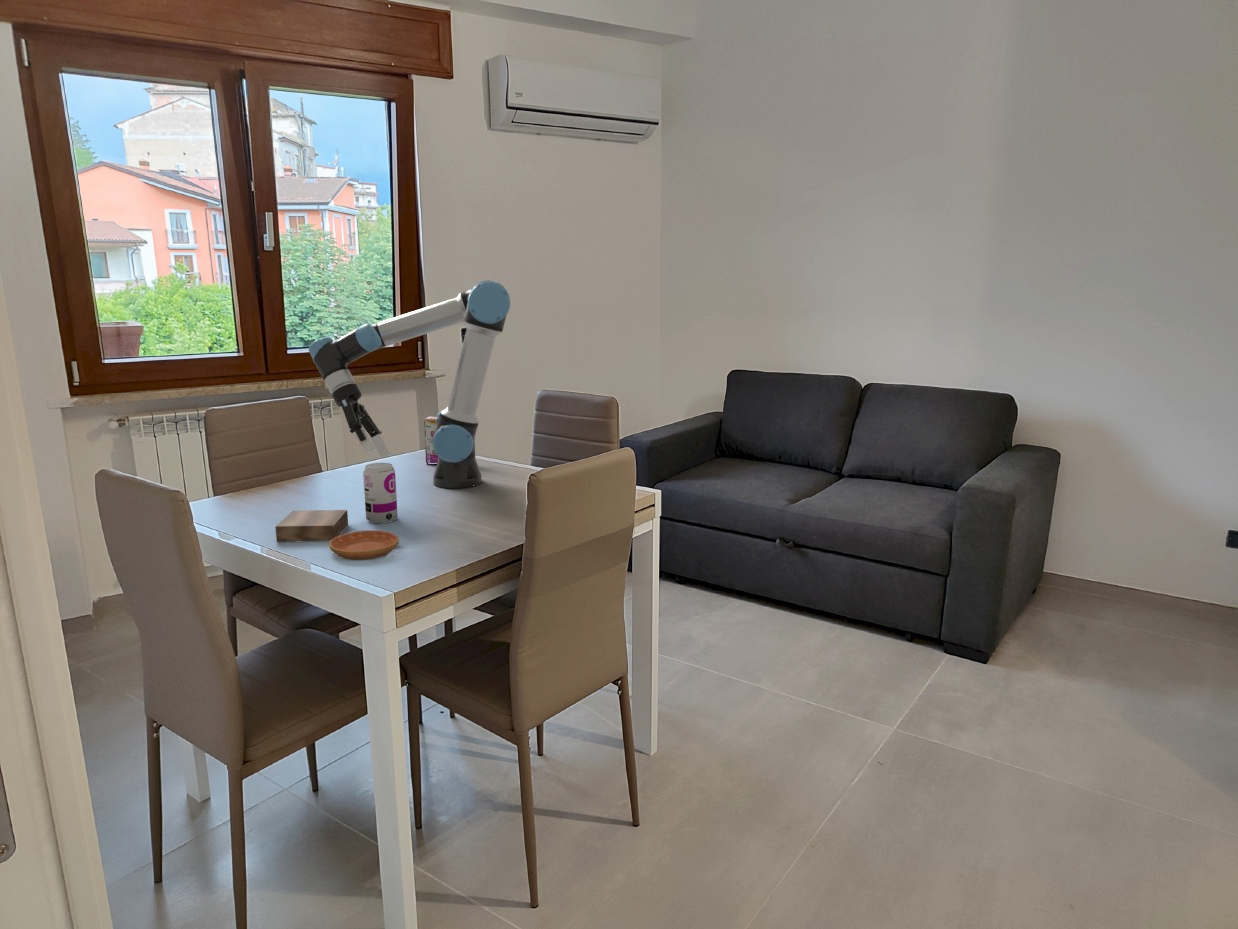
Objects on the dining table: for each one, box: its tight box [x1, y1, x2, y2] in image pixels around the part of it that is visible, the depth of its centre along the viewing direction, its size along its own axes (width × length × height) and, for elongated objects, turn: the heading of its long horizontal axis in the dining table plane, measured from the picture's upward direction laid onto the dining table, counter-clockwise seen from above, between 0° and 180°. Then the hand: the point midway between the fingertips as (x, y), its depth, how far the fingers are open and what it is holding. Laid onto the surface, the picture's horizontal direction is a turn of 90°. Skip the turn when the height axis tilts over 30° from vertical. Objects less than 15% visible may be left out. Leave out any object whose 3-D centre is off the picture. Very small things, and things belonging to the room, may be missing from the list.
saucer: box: [328, 529, 400, 561], centre depth 196 cm, size 16×16×3 cm
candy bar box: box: [423, 416, 438, 464], centre depth 287 cm, size 11×5×16 cm, turn 84°
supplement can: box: [362, 462, 398, 524], centre depth 220 cm, size 8×8×15 cm
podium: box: [274, 509, 349, 543], centre depth 209 cm, size 14×14×4 cm
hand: (378, 453), depth 233 cm, fingers open, 13 cm apart
